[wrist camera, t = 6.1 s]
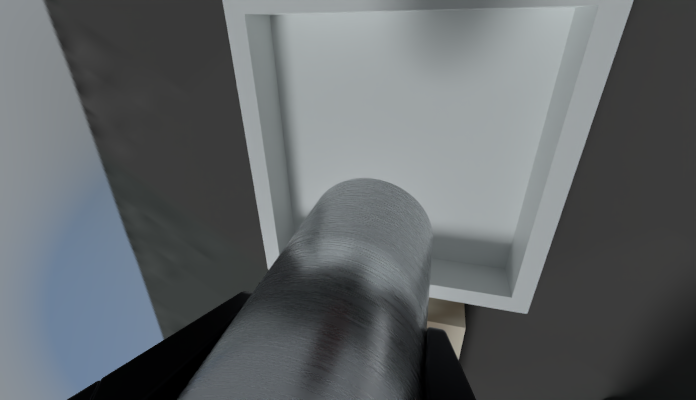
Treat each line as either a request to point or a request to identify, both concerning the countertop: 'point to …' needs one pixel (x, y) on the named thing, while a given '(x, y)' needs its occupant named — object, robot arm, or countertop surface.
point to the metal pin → (334, 307)
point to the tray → (427, 119)
